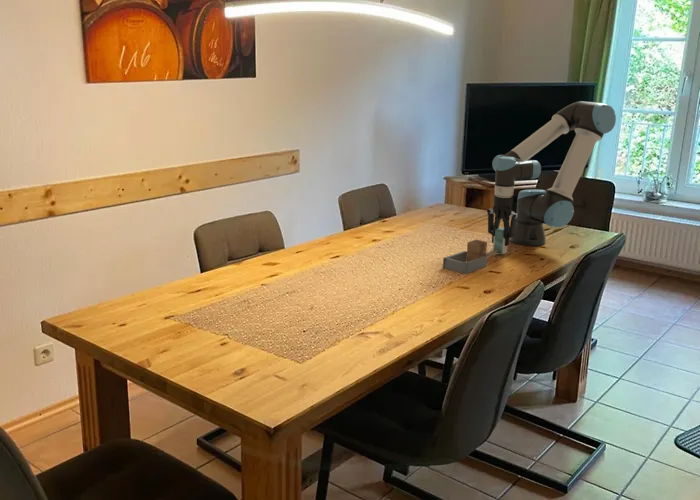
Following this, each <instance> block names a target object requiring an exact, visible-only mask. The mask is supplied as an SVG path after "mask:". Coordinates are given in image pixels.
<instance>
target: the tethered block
mask: <svg viewBox="0 0 700 500" xmlns="http://www.w3.org/2000/svg"><path fill="white" fill-rule="evenodd" d="M504 237H505V235H504V227H501V226H499V228H497V229H495V244H494V250H493V249H492V250H491V251H489V252H487V249H488V241H484V240H481V239H474V240H470V241H468V242H467V248H466V251H467V260H466V262H468V261H471V260H474V259H477V258H480V257H482V256H487V257H489V256H492V255H495V254H499V255H503V254H502V244H503V238H504Z"/></svg>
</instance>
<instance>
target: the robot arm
mask: <svg viewBox="0 0 700 500" xmlns="http://www.w3.org/2000/svg"><path fill="white" fill-rule="evenodd" d="M616 116H617V115H616V111H615V109H614V108H613V106H611V105H609V104H607V103H603V102H594V101H582V100H580V101H576V102H573V103H571V104H569V105H567V106H565V107H564V108H562V109H560V110H559V111H557V112H556V113H555V114H553V115H552V117H551V120H549V121H548V122H546V123H545V124H544V125H543V126H541V127H540V128H538V129H537V130H535V132H533V133H532V134H530V136H528V137H527V138H525V139H524V140H523V141H522V142H520V143H518V145H516V146H515V147H514V148H512V149H511V150H510V151H508V152H507V153H505V154H497V155H496V156H495V157H494V158H493V160H492V162H491V163H492V164H491V165H492V169H493V170H494V171H495V177H494V179H495V180H494V194H493V195H494V197H493V206H492V208H489V209H487V210H486V212H487V213H486V214H487V233H488V234H490V235H491V243H493V244H492V251H493V250H494V244H495V229H497V228H500V223H501V221H502V222H503V228H504V235H505V237H504V238H503V244H502V254H501V255H503V254H507V252H508V246H510V241H511V242H512V243H514V244H516V245H523V246H542V245H543V246H544V245H545V244H546V240H547V239H546V238H547V237H546V233H545V228H544V225H547V226H548V227H553V228H562V227H564V226H566V225H568V223H570V222H571V220H572V218H573V217H574V214H575V210H574V209H575V207H574V205H573V202H574V198H573V193H574V191H575V189H576V186H577V185H578V182H579V180H580V179H581V176H582V174H583V171H584V169H585V167H586V165H587V162H588V161H589V158H590V156H591V154H592V151H593V149H594V147H595V145H596V143H598V142H599V141H601V140H602V139H603V136H604V135H605V134H608V133H609V132H612V130H613V129H614V128H615V126H616V122H617V121H616V120H617V117H616ZM571 131H574V132H575V136H574V138H573V140H572V143H571V145H570V146H569V149H568V151H567V153H566V155H565V159H564V160H563V163H562V164H561V167H560V169H559V172H558V173H557V176H556V178H555V180H554V182H553V184H552V187H550V188H549V187H548V188H547V189H546V190H545V189H523V190H520V191H519V192H518V195H517V199H516V200H517V202H516V213H515V211H514V209H513V205H514V197H513V196H514V192H515V181H520V180H521V181H523V180H524V181H525V180H534V179H537V178H539V177H540V176H541V173H542V166H541V163H540V162H539V161H538V160H535V159H532V157H534V156H535V155H536V154H538V153H539V152H540V151H542V150H543V149H544V148H546V147H547V146H549V144H551V143H552V142H553V141H555V140H556V139H558V138H559V137H560V136H561V135H567V134H568V133H569V132H571ZM510 217H511V218H510Z"/></svg>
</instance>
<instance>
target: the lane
mask: <svg viewBox="0 0 700 500" xmlns="http://www.w3.org/2000/svg"><path fill="white" fill-rule="evenodd" d="M442 260H443V261H442V268H443V269H445V270H448V271H453V272H457V273H460V274H465V275H467V274H469V273H472V272H474V271H478V270H480V269H483V268H486V267H487V263H488V262H487V260H488V256H482V257H480V258H477V259H474V260H471V261H468V262H467V250H463V251H461V252H456V253H455V254H452V255H448V256H444V257H443V259H442Z"/></svg>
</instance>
